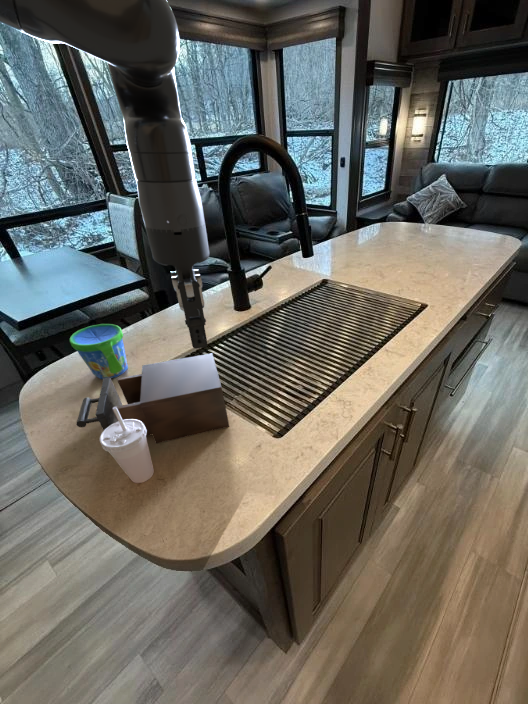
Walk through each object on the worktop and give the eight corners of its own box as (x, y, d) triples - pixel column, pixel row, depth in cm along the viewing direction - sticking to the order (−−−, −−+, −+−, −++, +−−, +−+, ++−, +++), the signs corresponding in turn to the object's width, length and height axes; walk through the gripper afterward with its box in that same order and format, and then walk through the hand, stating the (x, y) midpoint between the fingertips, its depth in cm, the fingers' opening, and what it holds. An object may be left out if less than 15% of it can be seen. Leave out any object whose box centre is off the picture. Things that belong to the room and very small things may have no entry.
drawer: (86, 453, 58) (66, 420, 53) (95, 413, 67) (78, 382, 62) (184, 431, 62) (174, 398, 58) (180, 396, 71) (171, 365, 66)
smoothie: (170, 464, 57) (145, 401, 48) (145, 494, 52) (112, 430, 44) (139, 456, 59) (110, 393, 50) (112, 483, 54) (75, 420, 45)
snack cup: (143, 379, 78) (128, 340, 71) (94, 395, 73) (74, 355, 67) (127, 352, 88) (113, 316, 82) (83, 364, 83) (64, 327, 77)
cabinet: (156, 443, 61) (139, 403, 55) (156, 403, 71) (142, 365, 65) (229, 426, 64) (221, 387, 59) (220, 390, 74) (212, 353, 68)
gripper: (145, 213, 47) (171, 319, 57) (143, 234, 37) (175, 360, 47) (198, 211, 49) (214, 314, 59) (211, 230, 39) (228, 352, 49)
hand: (197, 334), depth 53 cm, fingers open, 8 cm apart
